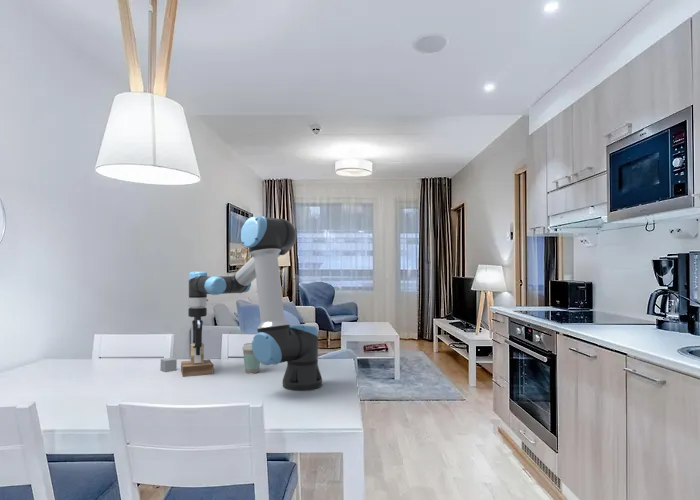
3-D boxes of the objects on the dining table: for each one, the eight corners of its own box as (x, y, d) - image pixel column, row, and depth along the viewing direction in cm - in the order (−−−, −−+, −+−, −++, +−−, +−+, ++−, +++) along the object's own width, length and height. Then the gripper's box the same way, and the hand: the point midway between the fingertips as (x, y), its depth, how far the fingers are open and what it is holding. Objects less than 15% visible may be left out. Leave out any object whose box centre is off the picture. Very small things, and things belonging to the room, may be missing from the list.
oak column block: (203, 363, 192) (203, 344, 192) (191, 364, 190) (191, 345, 190) (202, 361, 196) (202, 342, 197) (190, 362, 194) (190, 343, 194)
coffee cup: (264, 370, 197) (264, 342, 198) (258, 374, 189) (259, 346, 189) (245, 369, 198) (246, 342, 199) (239, 374, 190) (239, 345, 190)
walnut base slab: (212, 374, 190) (213, 364, 190) (182, 376, 185) (182, 367, 185) (209, 368, 201) (209, 359, 201) (181, 370, 196) (181, 361, 196)
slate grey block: (176, 370, 196) (176, 359, 197) (164, 372, 193) (165, 360, 193) (171, 368, 200) (172, 357, 200) (160, 370, 197) (160, 359, 197)
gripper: (209, 308, 187) (208, 364, 186) (204, 305, 204) (203, 356, 203) (190, 309, 184) (189, 366, 183) (186, 305, 201) (186, 358, 200)
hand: (196, 361), depth 193 cm, fingers open, 5 cm apart
